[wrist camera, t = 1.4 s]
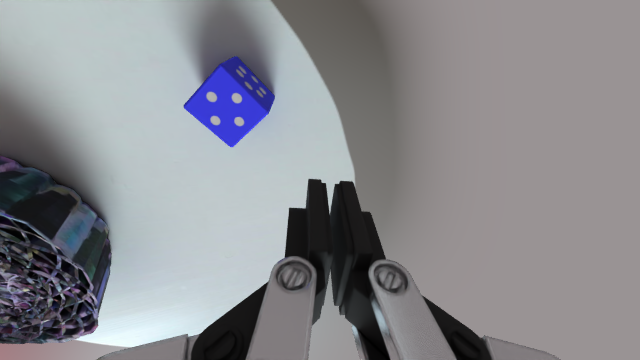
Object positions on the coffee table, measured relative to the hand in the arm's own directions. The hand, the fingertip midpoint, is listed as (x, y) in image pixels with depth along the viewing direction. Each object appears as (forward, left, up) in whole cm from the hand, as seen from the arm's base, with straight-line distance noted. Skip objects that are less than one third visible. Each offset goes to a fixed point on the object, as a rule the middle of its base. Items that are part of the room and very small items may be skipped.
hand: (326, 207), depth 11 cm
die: (0, -7, -17) cm, 19 cm away
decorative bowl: (+19, -35, -17) cm, 44 cm away
